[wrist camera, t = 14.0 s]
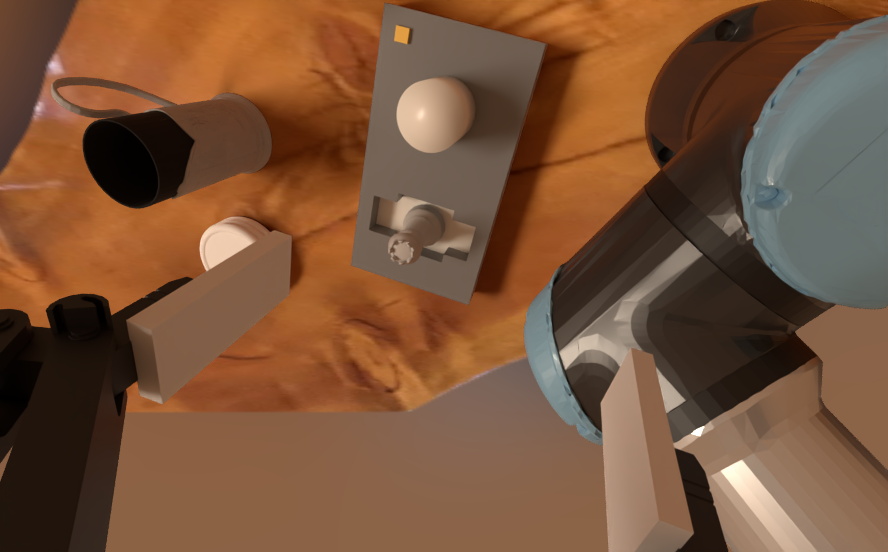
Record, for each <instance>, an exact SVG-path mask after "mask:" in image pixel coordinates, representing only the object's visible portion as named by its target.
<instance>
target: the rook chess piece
mask: <svg viewBox="0 0 888 552" xmlns="http://www.w3.org/2000/svg"><path fill="white" fill-rule="evenodd" d="M444 231H445V222H444V219H443V217H442V215H441V214H440V213H439V211H438V210H437V209H435V208H433V207H431V206H430V205H422V204H421V205H417V206H414V207H413V208H412V209H411V210H409V211H408V213H407V214H406V216H405V218H404V221H403V230H401V231H400V232H399V233H397V234H394V235H393V236H392V237H391V238H390V240H389V243H388V253H390V254H391V256H392V257H391V259H392V260H393V262H394V261H395V260H396V261H397V262H399V265H404V264H407V265H408V264H412V263H414V262H416V261H417V260H418V259H419V257H420V255H421V251H422V249H423V247H427V246H431V245H434V244H435V243H436V242H437V241H439V239H440V238H442V236H443V234H444Z"/></svg>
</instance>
